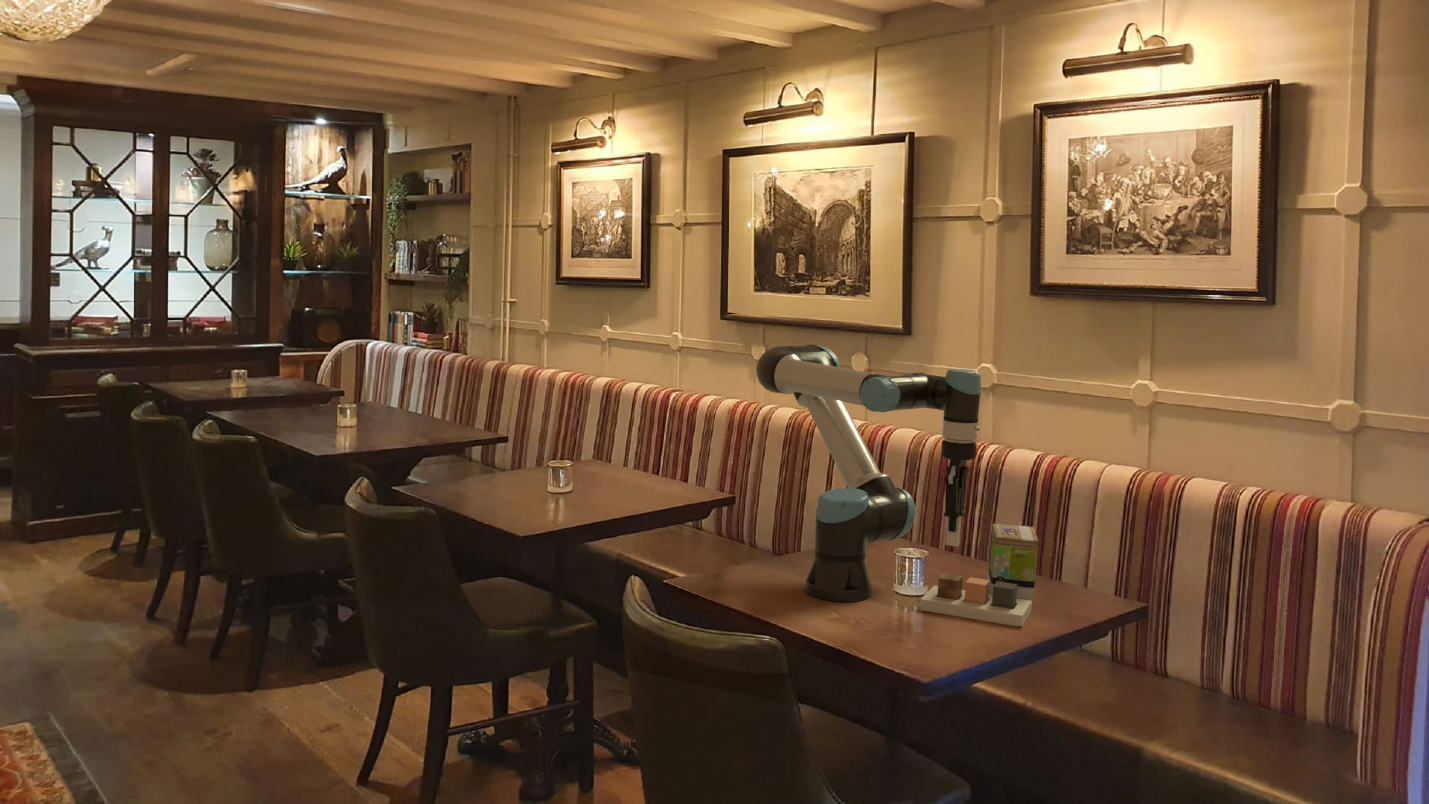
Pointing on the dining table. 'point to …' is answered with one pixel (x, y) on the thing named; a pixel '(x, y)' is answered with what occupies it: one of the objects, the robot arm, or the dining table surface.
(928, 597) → the key panel
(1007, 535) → the tea box
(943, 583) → the key walnut
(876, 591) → the dining table surface
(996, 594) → the key dark grey
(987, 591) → the key terracotta
